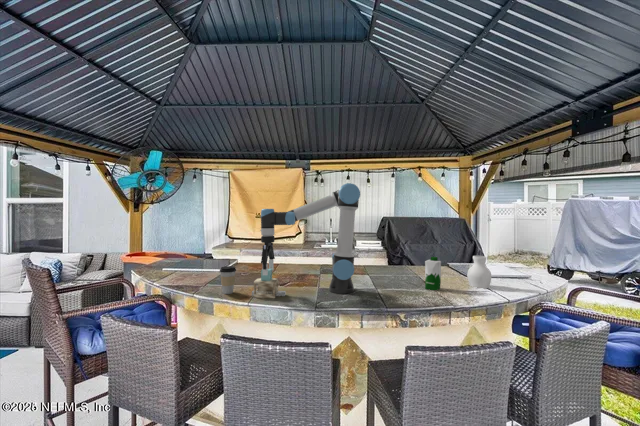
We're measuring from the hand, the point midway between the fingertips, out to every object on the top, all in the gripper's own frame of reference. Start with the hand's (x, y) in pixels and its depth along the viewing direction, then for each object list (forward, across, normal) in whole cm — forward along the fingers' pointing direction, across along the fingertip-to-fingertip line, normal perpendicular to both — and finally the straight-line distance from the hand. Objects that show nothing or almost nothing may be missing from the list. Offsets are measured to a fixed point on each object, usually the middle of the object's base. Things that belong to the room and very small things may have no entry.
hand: (268, 272), depth 168 cm
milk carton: (+16, -27, +100) cm, 104 cm away
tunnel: (+13, 0, -1) cm, 13 cm away
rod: (+14, 0, 0) cm, 14 cm away
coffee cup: (+13, -3, -25) cm, 28 cm away
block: (+4, 0, -1) cm, 4 cm away
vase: (+16, -37, +133) cm, 139 cm away
